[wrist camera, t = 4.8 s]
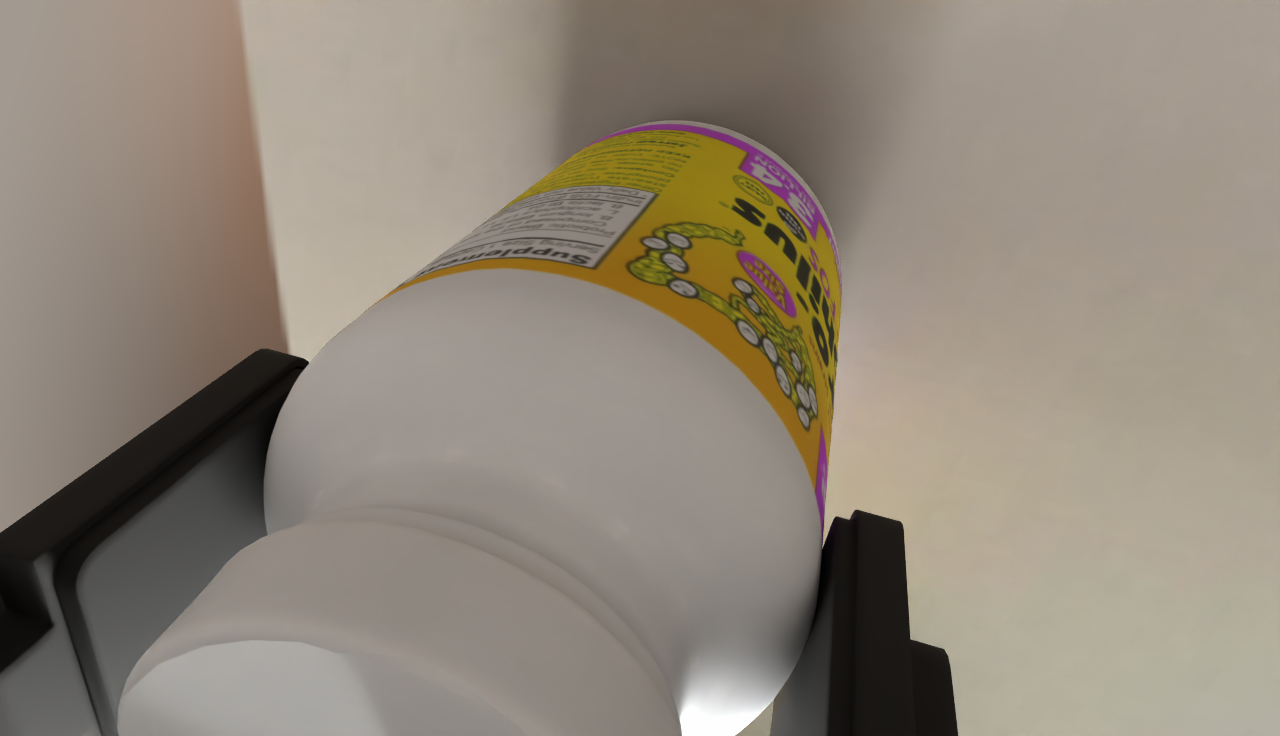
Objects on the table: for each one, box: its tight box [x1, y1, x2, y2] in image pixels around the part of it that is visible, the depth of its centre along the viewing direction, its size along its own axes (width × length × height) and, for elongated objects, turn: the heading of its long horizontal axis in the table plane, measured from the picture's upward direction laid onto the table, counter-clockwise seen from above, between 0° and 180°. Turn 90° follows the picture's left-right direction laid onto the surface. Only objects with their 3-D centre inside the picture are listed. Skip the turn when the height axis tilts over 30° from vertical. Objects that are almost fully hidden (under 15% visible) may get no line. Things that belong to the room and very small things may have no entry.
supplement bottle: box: [117, 120, 842, 736], centre depth 12 cm, size 7×7×13 cm
